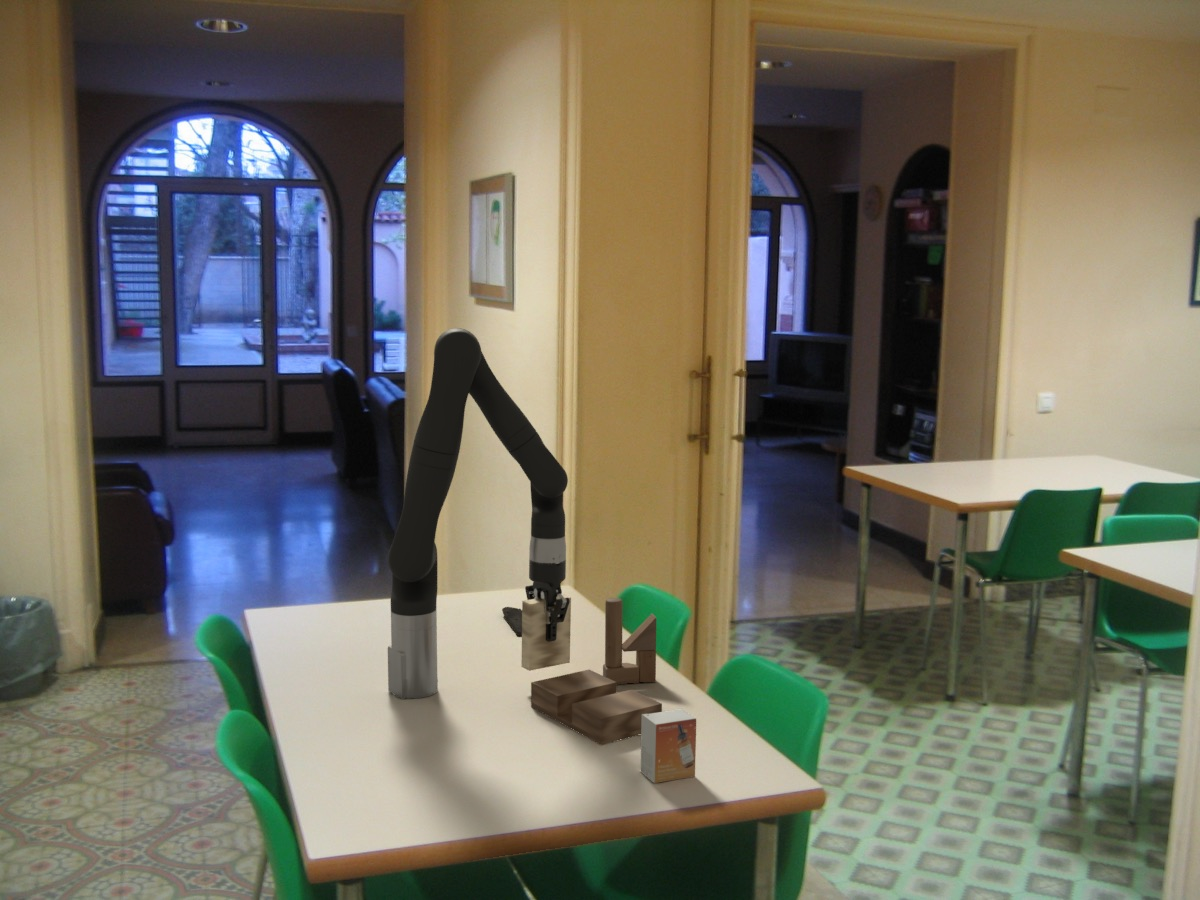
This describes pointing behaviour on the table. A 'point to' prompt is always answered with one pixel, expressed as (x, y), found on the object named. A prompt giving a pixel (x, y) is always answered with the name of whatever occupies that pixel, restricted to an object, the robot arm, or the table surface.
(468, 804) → the table surface
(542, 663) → the maple slat
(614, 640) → the wooden toy block structure
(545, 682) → the slotted plate
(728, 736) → the table surface
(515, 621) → the wood
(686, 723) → the small box
